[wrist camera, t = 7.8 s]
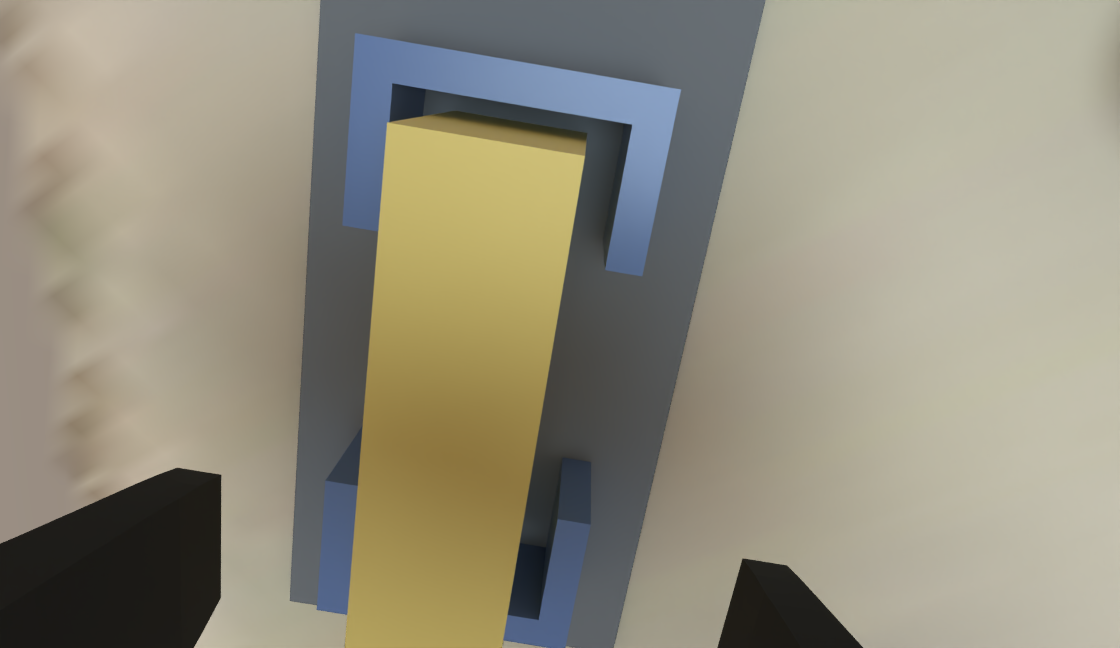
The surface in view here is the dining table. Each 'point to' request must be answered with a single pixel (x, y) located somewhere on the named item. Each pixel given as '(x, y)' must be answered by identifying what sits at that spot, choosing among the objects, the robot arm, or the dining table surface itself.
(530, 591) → the end cap
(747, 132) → the dining table surface
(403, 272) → the slat
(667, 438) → the dining table surface
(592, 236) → the mat
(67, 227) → the dining table surface
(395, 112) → the end cap
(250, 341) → the dining table surface
